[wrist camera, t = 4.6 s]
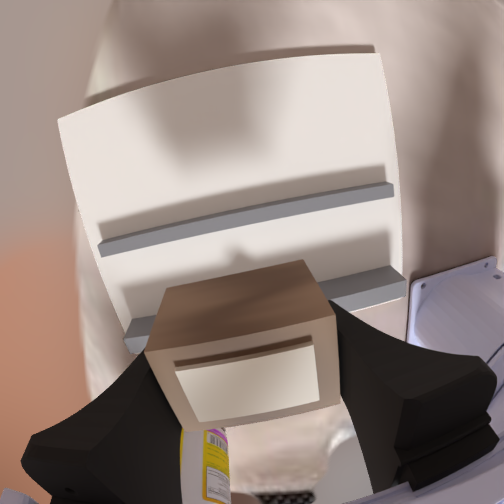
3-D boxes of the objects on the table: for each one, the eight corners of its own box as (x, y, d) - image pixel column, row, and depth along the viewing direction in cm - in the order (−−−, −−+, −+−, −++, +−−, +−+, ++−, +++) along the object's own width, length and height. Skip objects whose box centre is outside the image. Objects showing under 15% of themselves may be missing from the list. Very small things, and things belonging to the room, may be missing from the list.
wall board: (375, 55, 16) (403, 43, 13) (397, 294, 22) (420, 319, 19) (61, 119, 16) (31, 119, 13) (136, 349, 22) (125, 381, 19)
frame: (303, 258, 12) (337, 318, 8) (313, 336, 14) (342, 407, 10) (166, 287, 12) (142, 356, 8) (193, 360, 14) (185, 436, 10)
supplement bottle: (155, 445, 27) (141, 556, 15) (160, 406, 25) (140, 538, 13) (220, 456, 28) (224, 565, 16) (235, 419, 26) (244, 549, 14)
